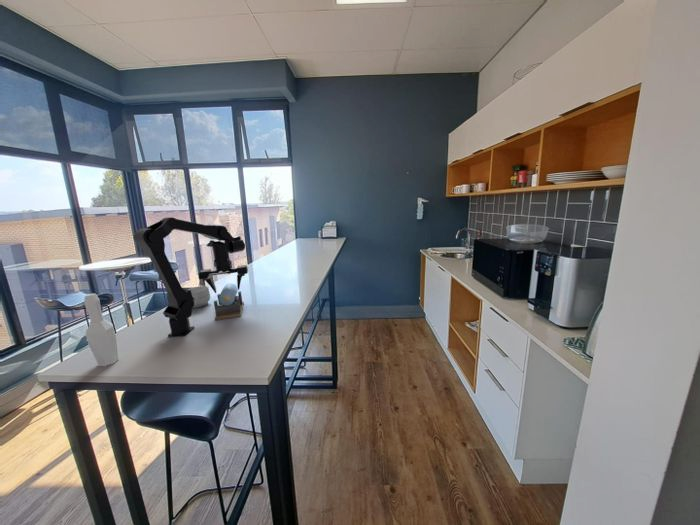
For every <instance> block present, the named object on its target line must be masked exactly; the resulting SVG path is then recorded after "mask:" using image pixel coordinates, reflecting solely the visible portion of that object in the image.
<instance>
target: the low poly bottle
mask: <svg viewBox="0 0 700 525" xmlns="http://www.w3.org/2000/svg"><path fill="white" fill-rule="evenodd" d="M83 304H84V307H85V309H86V312H87V314H88V317H89V320H90V323H89V325H88V327H87V329H86V331H85V335H86V336H85V337H86V340H87V343H88V346H89V348H90V351H91V352H92V354H93V357H94V358H95V361H96V363H97V365H98V367H99V366H103V367H108V366H111V365H114V364H115V363H117V362H118V361H119V353H118V344H117V335H116V332H115V329H114V328H115V327H114V325H113V322H112V323H111V322H110V321H108V320H106V319H105V318H104V316H103V313H102V309H101V308H102V307H101V301H100V298H99V296H98V295H97V294H96V293H88V294H86V295H84V302H83ZM117 360H118V361H117ZM116 361H117V362H116ZM113 363H114V364H113ZM110 364H111V365H110ZM107 365H108V366H107Z"/></svg>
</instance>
